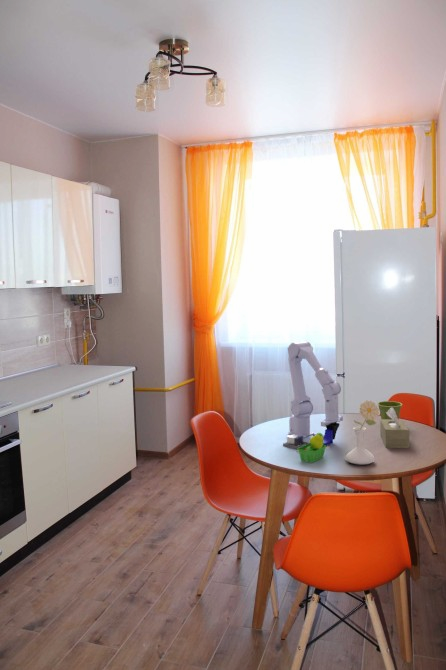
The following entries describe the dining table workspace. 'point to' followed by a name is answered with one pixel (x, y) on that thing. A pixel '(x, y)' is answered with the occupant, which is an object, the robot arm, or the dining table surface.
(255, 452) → the dining table surface
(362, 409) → the flower in vase
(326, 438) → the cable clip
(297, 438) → the block
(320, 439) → the fruit basket
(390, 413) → the tissue box
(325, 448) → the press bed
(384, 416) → the plant pot
